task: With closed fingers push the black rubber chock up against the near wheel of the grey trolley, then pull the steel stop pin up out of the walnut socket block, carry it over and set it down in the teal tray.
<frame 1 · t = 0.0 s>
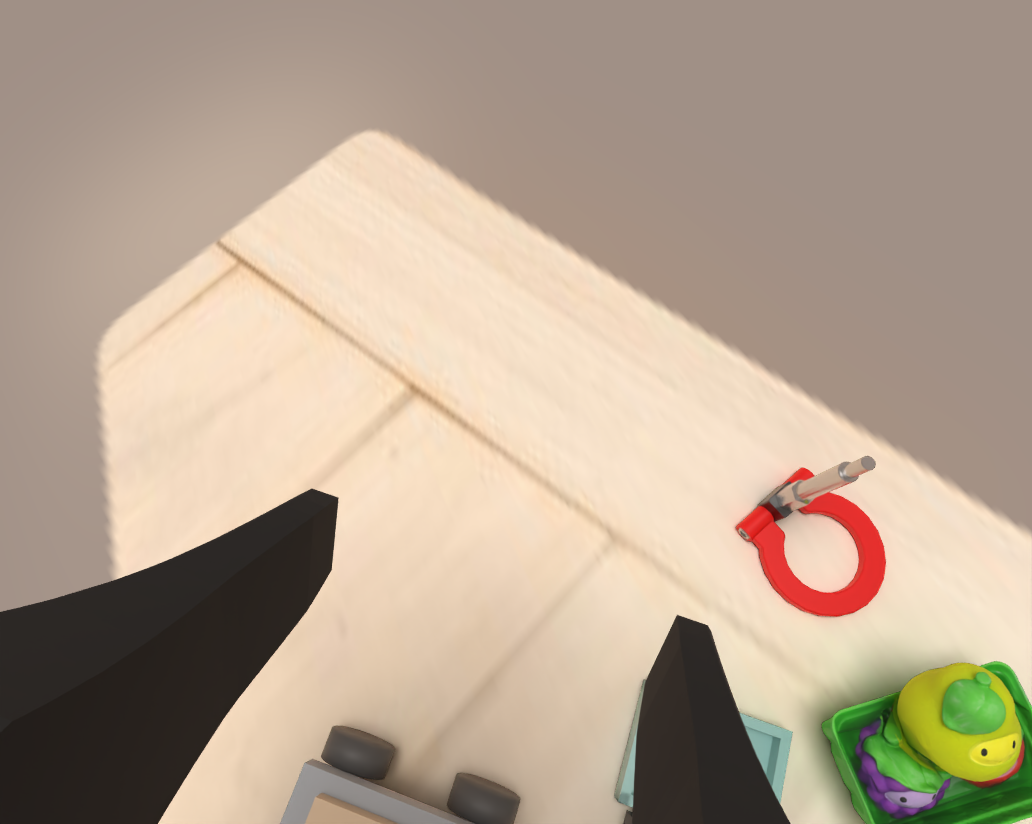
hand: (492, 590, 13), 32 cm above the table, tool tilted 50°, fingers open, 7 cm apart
fruit basket: (895, 734, 42), on the table
tray: (699, 761, 41), on the table
tow hook: (812, 548, 46), on the table
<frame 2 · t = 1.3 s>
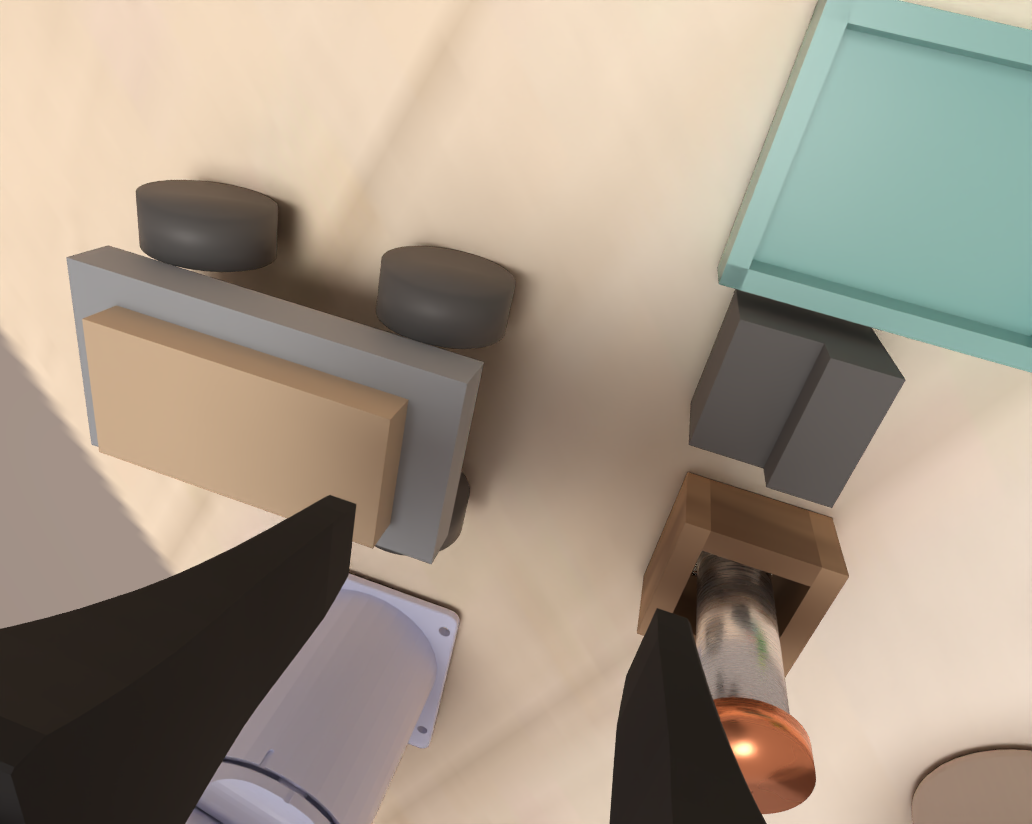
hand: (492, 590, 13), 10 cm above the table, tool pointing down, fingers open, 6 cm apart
chock: (775, 365, 21), on the table
tray: (933, 187, 17), on the table
stop pin: (737, 638, 20), in the pin socket
pin socket: (731, 548, 24), on the table
trolley: (345, 350, 24), on the table
coffee cup: (1010, 801, 26), on the table
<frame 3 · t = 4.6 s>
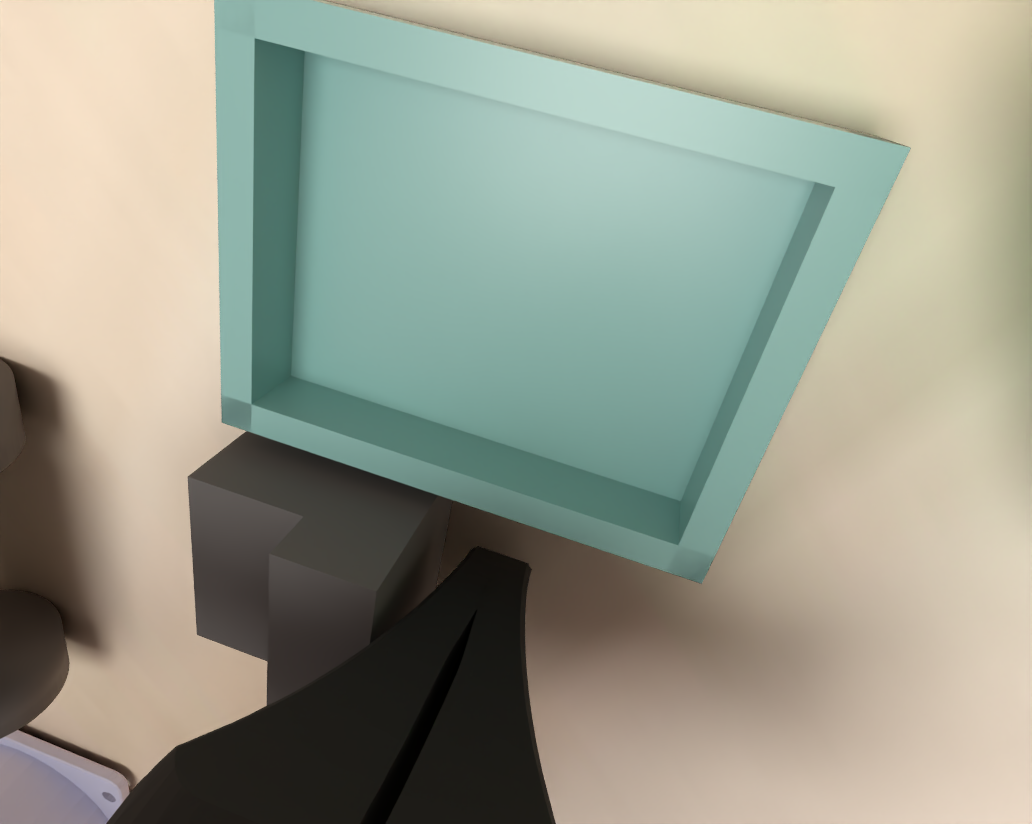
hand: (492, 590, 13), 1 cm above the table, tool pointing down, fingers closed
chock: (362, 505, 15), on the table, touching gripper
tray: (516, 283, 11), on the table
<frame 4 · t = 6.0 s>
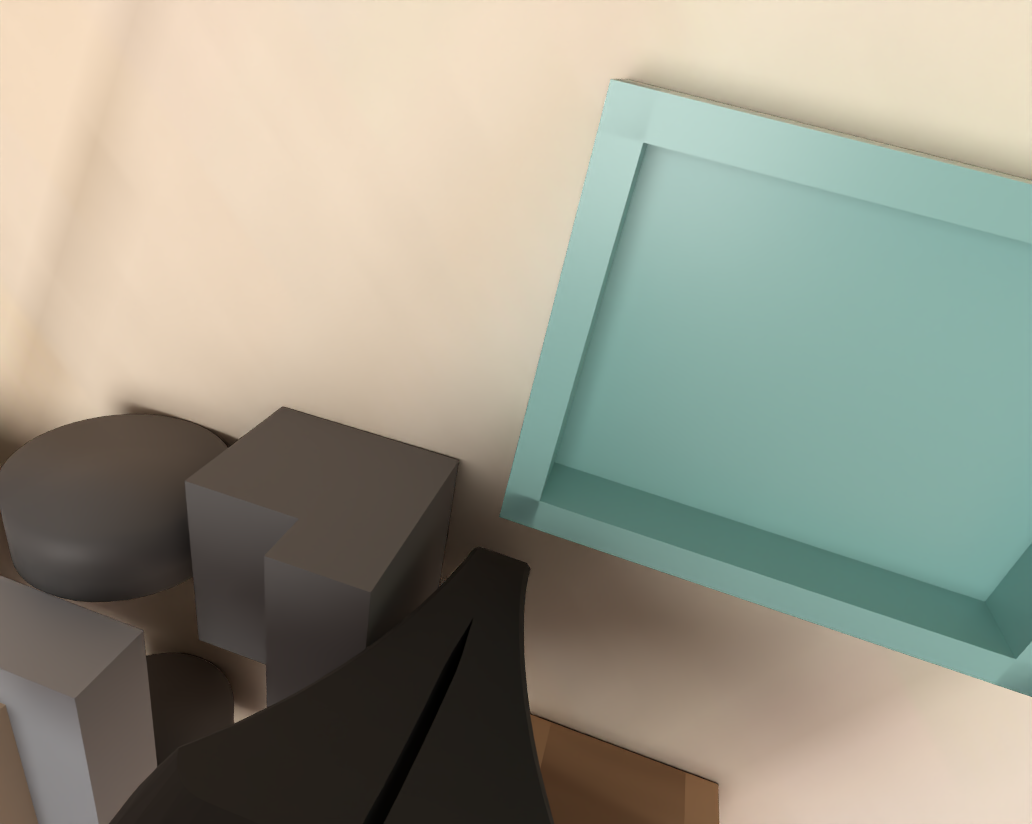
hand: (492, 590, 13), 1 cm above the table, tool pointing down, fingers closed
chock: (363, 508, 15), on the table, touching gripper
tray: (828, 377, 11), on the table
pin socket: (590, 803, 17), on the table
trolley: (64, 527, 18), on the table
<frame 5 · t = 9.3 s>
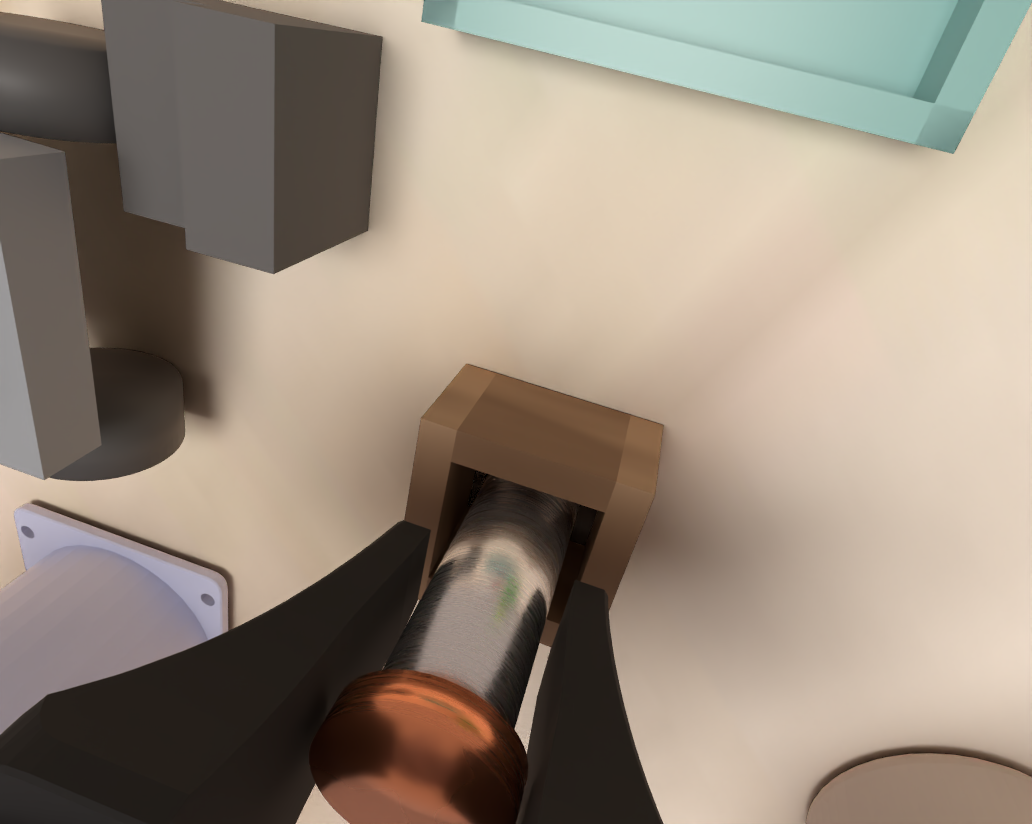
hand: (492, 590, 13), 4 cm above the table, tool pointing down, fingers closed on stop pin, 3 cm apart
chock: (294, 119, 15), on the table
stop pin: (492, 589, 13), in the pin socket, touching gripper
pin socket: (539, 476, 17), on the table
trolley: (11, 204, 17), on the table
coffee cup: (934, 823, 19), on the table
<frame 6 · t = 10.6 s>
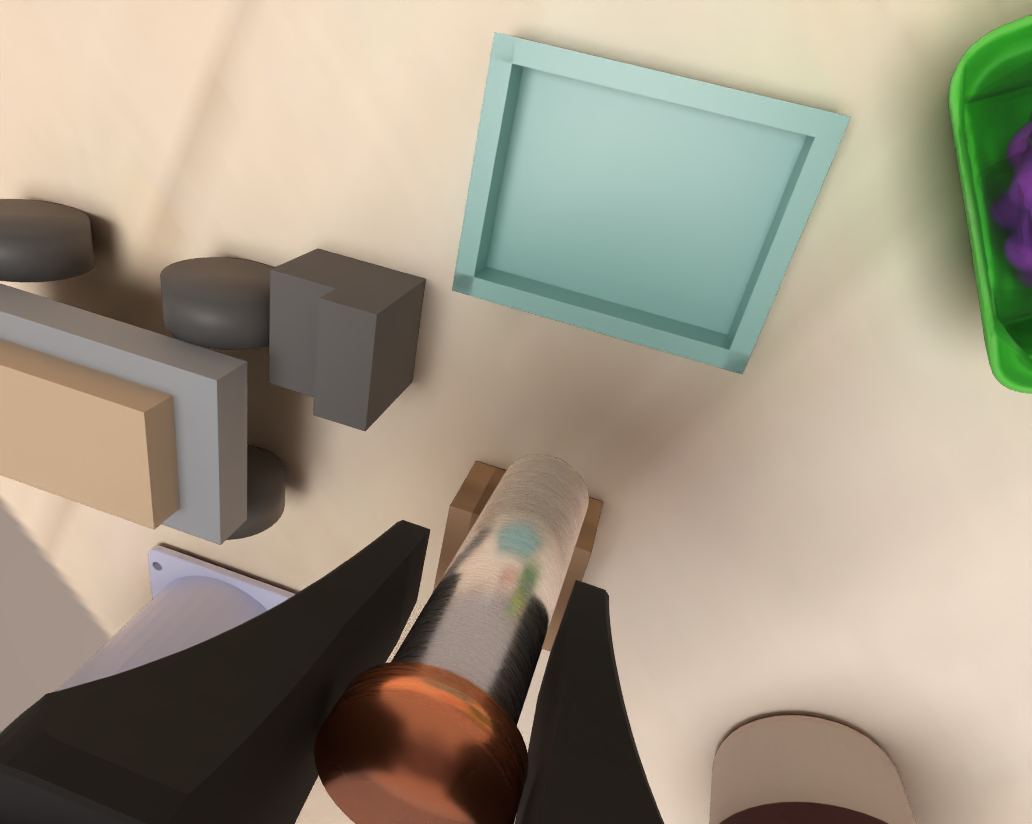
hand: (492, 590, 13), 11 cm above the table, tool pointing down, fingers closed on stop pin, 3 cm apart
chock: (367, 316, 23), on the table
tray: (632, 203, 19), on the table
stop pin: (496, 598, 14), point 10 cm above the table, touching gripper
pin socket: (524, 532, 26), on the table
trolley: (171, 352, 26), on the table
coffee cup: (800, 765, 28), on the table
when the fingers open (6 cm above the table, at t = 12.1 s): stop pin stays where it is, resting on tray.
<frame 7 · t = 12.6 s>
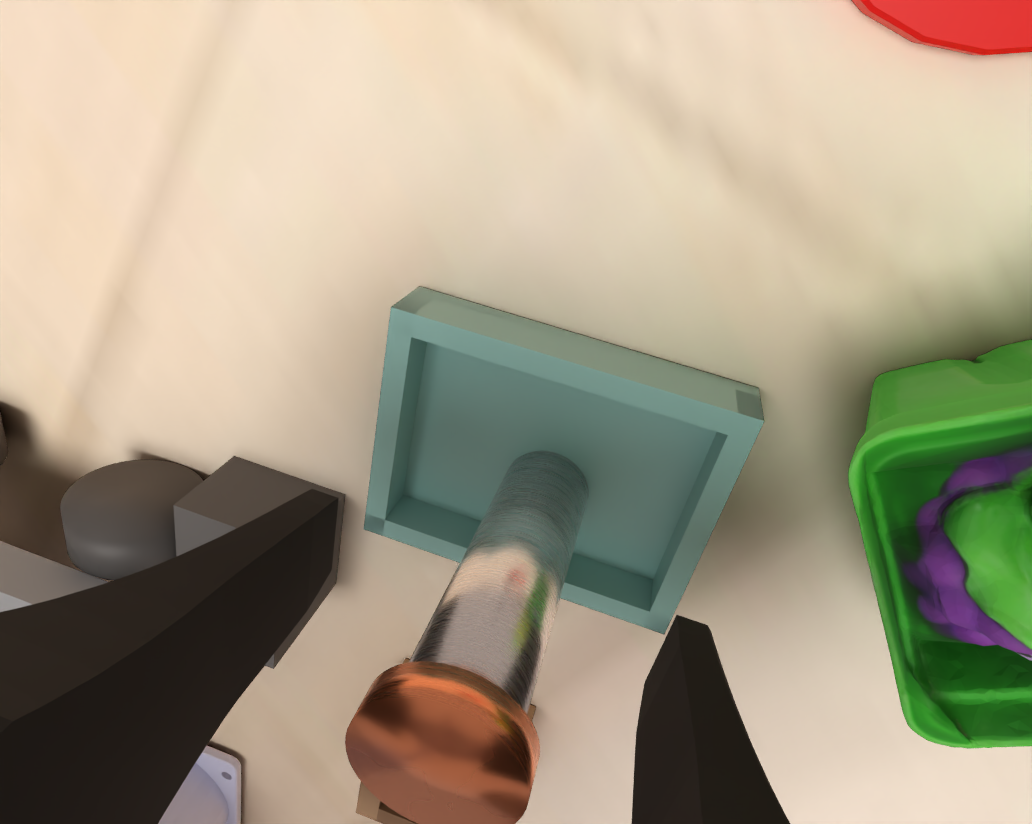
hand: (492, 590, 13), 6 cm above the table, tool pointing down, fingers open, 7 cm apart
chock: (288, 519, 23), on the table
tray: (551, 448, 18), on the table
stop pin: (505, 592, 15), in the tray
pin socket: (458, 724, 25), on the table
trolley: (93, 533, 25), on the table
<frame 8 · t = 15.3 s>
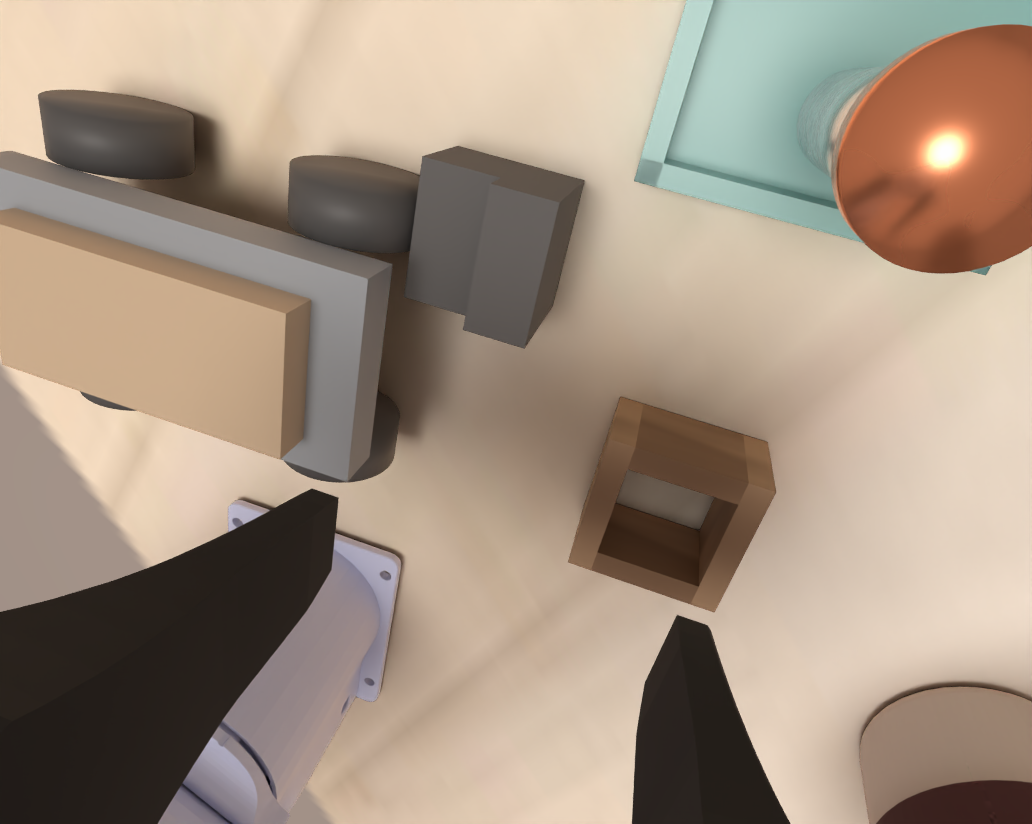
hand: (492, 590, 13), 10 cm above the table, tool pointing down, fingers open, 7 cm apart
chock: (507, 228, 21), on the table
tray: (853, 76, 17), on the table
stop pin: (890, 134, 13), in the tray
pin socket: (668, 478, 23), on the table
trolley: (272, 276, 23), on the table
coffee cup: (959, 744, 25), on the table
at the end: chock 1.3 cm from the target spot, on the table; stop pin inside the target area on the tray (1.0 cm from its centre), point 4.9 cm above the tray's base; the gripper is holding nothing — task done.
